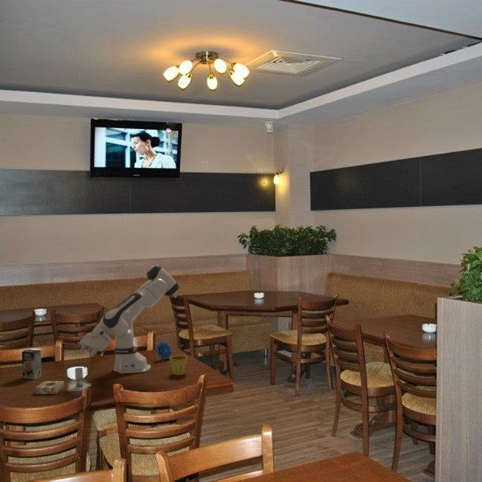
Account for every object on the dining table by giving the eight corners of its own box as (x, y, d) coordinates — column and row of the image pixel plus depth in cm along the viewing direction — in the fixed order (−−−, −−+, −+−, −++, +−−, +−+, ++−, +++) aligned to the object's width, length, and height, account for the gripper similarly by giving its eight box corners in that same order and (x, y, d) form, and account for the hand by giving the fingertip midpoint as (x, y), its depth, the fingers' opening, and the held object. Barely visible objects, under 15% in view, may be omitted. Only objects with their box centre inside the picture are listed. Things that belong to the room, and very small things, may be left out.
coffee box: (22, 378, 345) (21, 351, 344) (29, 375, 351) (28, 348, 350) (34, 379, 342) (33, 352, 341) (42, 376, 348) (41, 349, 347)
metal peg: (84, 385, 325) (83, 367, 324) (81, 387, 321) (81, 369, 320) (77, 385, 325) (76, 367, 325) (74, 387, 321) (73, 369, 321)
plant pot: (187, 375, 342) (187, 359, 341) (169, 376, 341) (169, 360, 341) (187, 370, 352) (187, 354, 352) (170, 371, 352) (170, 355, 351)
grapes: (158, 362, 374) (157, 343, 373) (154, 359, 380) (153, 341, 379) (174, 359, 380) (174, 341, 379) (170, 357, 385) (170, 339, 385)
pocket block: (64, 387, 326) (64, 381, 325) (56, 393, 314) (56, 387, 314) (44, 387, 326) (44, 381, 326) (36, 393, 315) (35, 387, 315)
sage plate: (91, 385, 328) (91, 383, 328) (85, 391, 318) (85, 389, 318) (73, 385, 329) (73, 383, 328) (67, 391, 319) (67, 389, 318)
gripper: (86, 328, 339) (71, 348, 332) (106, 333, 325) (92, 354, 318) (93, 334, 342) (78, 354, 336) (113, 339, 329) (99, 360, 322)
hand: (85, 354), depth 327 cm, fingers open, 8 cm apart
